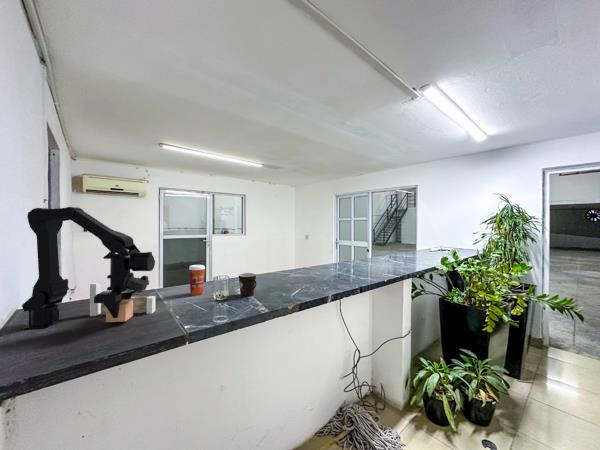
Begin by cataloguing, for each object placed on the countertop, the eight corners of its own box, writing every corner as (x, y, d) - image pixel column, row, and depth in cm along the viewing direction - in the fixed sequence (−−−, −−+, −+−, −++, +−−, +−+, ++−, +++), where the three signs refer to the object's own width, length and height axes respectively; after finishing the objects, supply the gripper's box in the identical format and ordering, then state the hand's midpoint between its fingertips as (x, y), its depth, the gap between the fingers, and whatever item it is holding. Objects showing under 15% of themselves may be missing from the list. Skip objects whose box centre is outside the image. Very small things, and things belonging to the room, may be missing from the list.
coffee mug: (237, 292, 124) (238, 273, 124) (254, 291, 127) (255, 272, 127) (239, 299, 113) (239, 278, 113) (257, 298, 116) (258, 277, 116)
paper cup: (193, 297, 116) (193, 267, 116) (185, 294, 121) (185, 265, 121) (208, 293, 122) (208, 265, 122) (199, 290, 127) (200, 263, 127)
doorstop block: (106, 322, 83) (106, 304, 83) (114, 316, 88) (114, 300, 88) (125, 321, 84) (125, 304, 84) (132, 315, 89) (133, 299, 89)
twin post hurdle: (89, 316, 91) (90, 284, 91) (94, 313, 94) (95, 282, 94) (152, 313, 95) (152, 282, 95) (155, 310, 98) (155, 281, 98)
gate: (101, 311, 93) (101, 298, 93) (102, 310, 94) (103, 297, 94) (146, 309, 95) (146, 297, 95) (147, 308, 96) (147, 296, 96)
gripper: (132, 276, 78) (131, 325, 78) (156, 266, 96) (155, 305, 97) (93, 277, 76) (92, 326, 76) (125, 266, 95) (124, 306, 95)
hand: (119, 315), depth 86 cm, fingers closed on doorstop block, 5 cm apart
